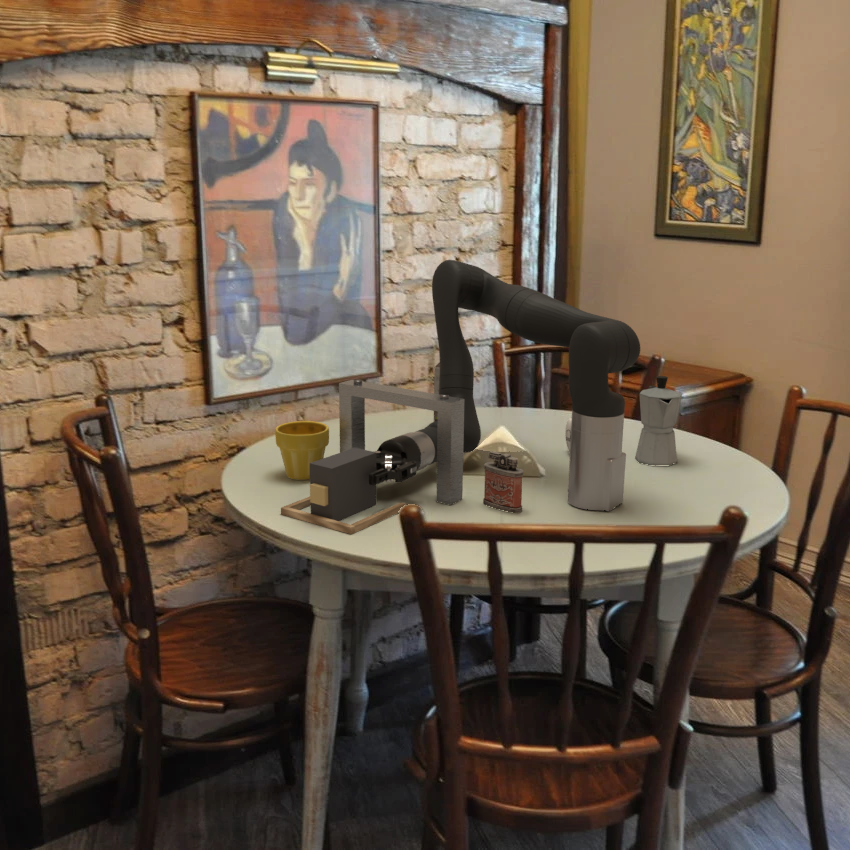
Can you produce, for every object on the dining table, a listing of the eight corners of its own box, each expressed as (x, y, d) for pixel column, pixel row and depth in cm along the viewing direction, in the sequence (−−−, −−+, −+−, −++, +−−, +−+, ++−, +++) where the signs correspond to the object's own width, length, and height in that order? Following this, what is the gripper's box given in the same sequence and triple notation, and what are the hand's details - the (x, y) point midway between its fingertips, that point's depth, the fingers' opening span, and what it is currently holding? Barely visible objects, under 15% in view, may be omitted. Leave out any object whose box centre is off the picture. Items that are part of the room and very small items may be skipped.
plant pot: (290, 486, 186) (289, 437, 184) (268, 472, 195) (266, 425, 192) (339, 477, 192) (338, 429, 189) (314, 464, 200) (313, 418, 198)
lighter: (526, 510, 175) (528, 456, 172) (514, 514, 173) (516, 460, 170) (490, 499, 180) (492, 447, 178) (479, 504, 178) (480, 451, 175)
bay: (405, 509, 174) (405, 503, 174) (351, 534, 163) (351, 527, 162) (336, 492, 183) (336, 485, 183) (280, 514, 172) (280, 507, 171)
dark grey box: (376, 505, 177) (376, 452, 174) (328, 526, 167) (327, 470, 164) (355, 499, 180) (354, 447, 177) (306, 519, 169) (305, 464, 167)
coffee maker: (684, 469, 199) (691, 383, 194) (641, 469, 199) (647, 383, 194) (666, 449, 213) (673, 368, 209) (626, 448, 213) (631, 367, 209)
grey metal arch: (462, 499, 180) (464, 395, 175) (450, 505, 177) (451, 399, 172) (353, 473, 195) (352, 376, 190) (340, 478, 192) (338, 380, 187)
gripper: (376, 429, 189) (321, 448, 176) (437, 441, 181) (383, 462, 168) (377, 466, 191) (321, 487, 178) (437, 480, 183) (383, 503, 170)
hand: (351, 475), depth 173 cm, fingers open, 8 cm apart
